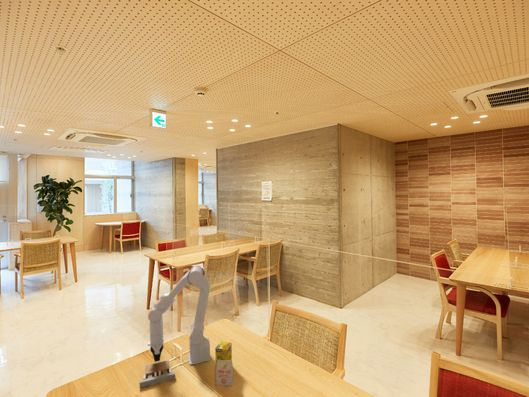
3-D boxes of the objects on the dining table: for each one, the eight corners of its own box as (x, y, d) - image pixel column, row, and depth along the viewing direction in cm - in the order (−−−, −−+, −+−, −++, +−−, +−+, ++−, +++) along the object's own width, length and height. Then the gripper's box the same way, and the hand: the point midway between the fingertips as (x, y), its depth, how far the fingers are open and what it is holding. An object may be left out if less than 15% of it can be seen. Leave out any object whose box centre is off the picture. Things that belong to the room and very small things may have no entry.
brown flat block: (168, 365, 127) (168, 360, 127) (170, 377, 119) (169, 371, 119) (145, 371, 123) (145, 365, 123) (145, 383, 115) (144, 378, 115)
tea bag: (217, 379, 118) (217, 356, 117) (233, 380, 117) (232, 357, 116) (215, 385, 114) (215, 362, 113) (231, 386, 113) (231, 363, 113)
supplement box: (228, 373, 121) (227, 349, 120) (215, 372, 122) (214, 348, 122) (232, 365, 127) (232, 342, 126) (220, 363, 128) (219, 340, 127)
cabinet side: (174, 372, 122) (174, 367, 122) (175, 378, 118) (175, 373, 118) (140, 380, 117) (139, 375, 117) (139, 388, 113) (139, 382, 113)
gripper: (147, 326, 133) (148, 353, 134) (147, 342, 120) (147, 372, 120) (162, 323, 136) (163, 350, 136) (164, 338, 122) (164, 368, 123)
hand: (157, 360), depth 129 cm, fingers closed
